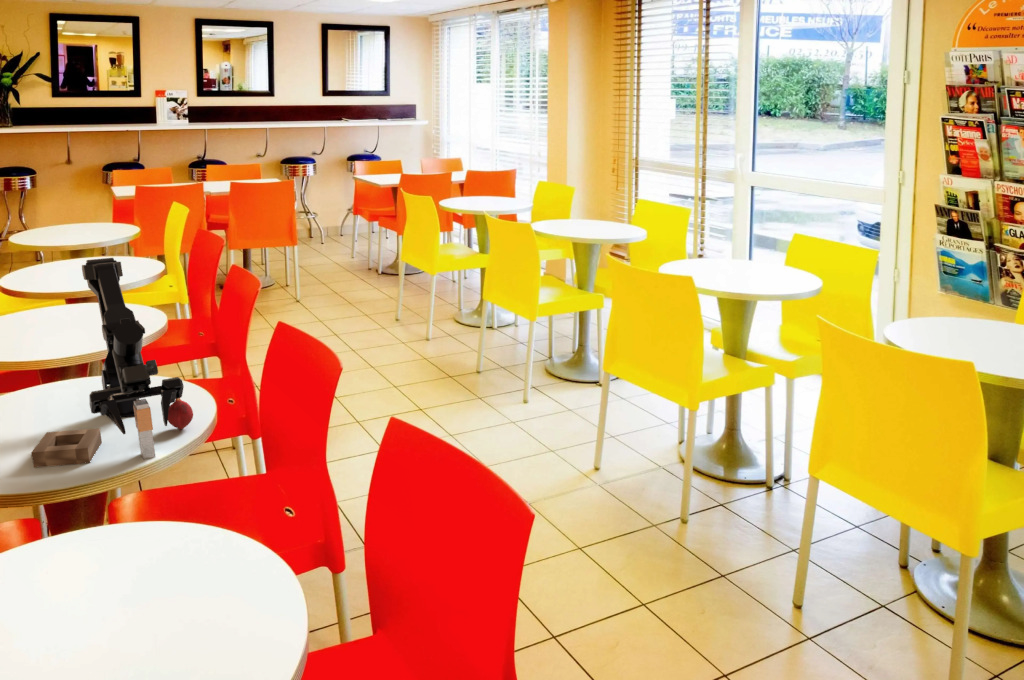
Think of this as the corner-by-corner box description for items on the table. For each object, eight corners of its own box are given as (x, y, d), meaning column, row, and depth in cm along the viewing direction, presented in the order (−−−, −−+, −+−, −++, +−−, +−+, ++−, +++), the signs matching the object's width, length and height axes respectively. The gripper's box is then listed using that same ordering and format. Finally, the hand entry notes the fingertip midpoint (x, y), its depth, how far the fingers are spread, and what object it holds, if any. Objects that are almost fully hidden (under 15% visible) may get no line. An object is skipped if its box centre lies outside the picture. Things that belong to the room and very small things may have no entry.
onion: (199, 429, 201) (195, 397, 198) (175, 436, 197) (171, 403, 194) (187, 422, 204) (183, 391, 202) (164, 429, 200) (160, 397, 198)
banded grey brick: (139, 453, 187) (132, 400, 184) (153, 451, 189) (146, 398, 185) (142, 460, 184) (135, 406, 180) (156, 457, 186) (149, 403, 182)
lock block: (101, 442, 193) (99, 428, 192) (89, 462, 183) (87, 447, 182) (49, 446, 191) (46, 432, 190) (33, 467, 180) (31, 452, 179)
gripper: (83, 356, 178) (98, 422, 172) (176, 342, 188) (193, 404, 182) (84, 381, 187) (98, 444, 181) (173, 366, 196) (189, 426, 190)
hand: (145, 429), depth 183 cm, fingers open, 8 cm apart
